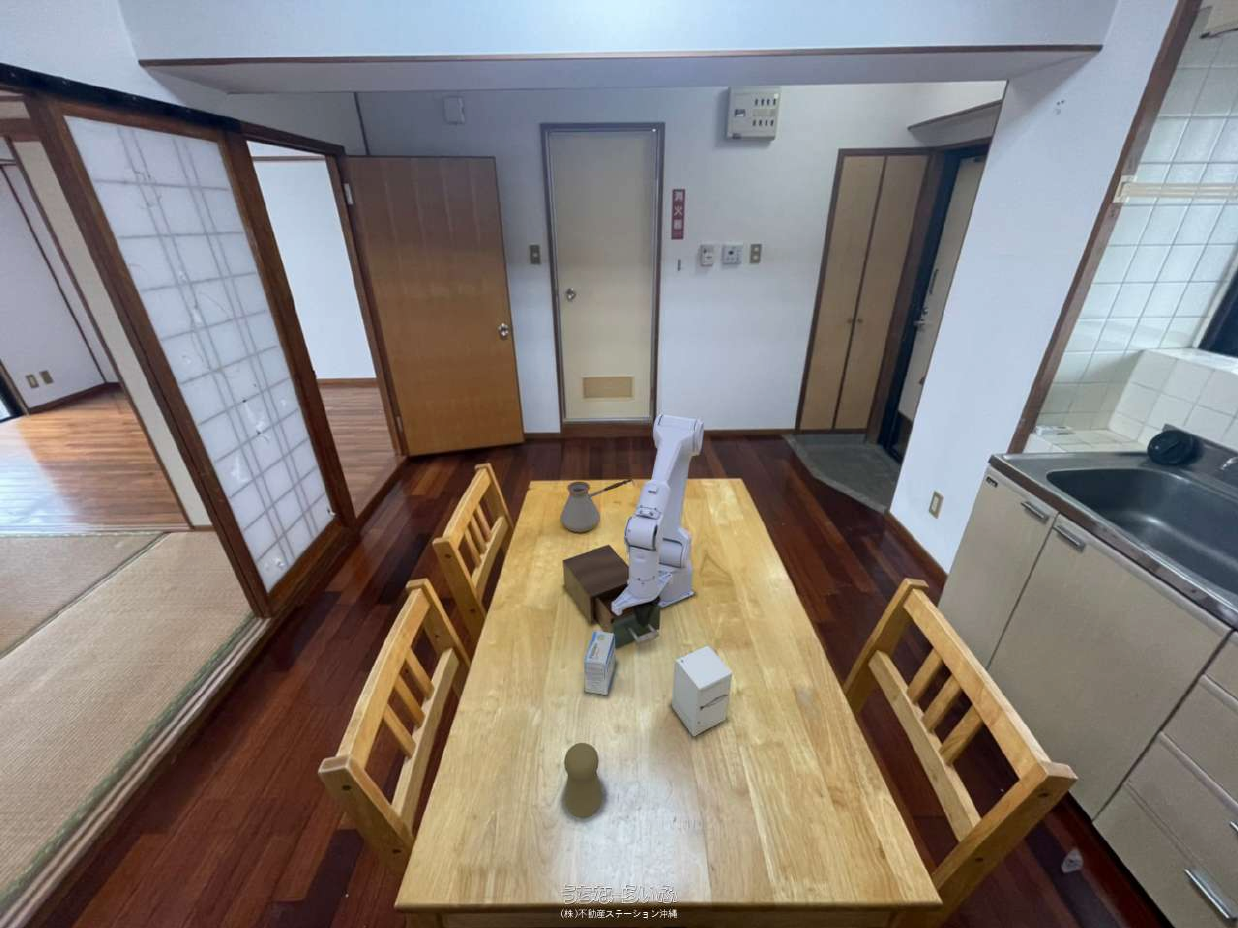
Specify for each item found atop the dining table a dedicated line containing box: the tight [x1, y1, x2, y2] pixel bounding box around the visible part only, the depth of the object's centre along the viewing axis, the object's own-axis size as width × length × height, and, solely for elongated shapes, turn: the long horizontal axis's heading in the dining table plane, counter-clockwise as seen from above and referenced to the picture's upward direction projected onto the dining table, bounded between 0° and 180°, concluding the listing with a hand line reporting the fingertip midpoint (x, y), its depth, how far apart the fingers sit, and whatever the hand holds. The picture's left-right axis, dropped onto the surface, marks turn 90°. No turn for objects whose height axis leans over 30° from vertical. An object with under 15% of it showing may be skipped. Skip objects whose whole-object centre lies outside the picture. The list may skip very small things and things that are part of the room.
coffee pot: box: [559, 478, 635, 534], centre depth 147 cm, size 21×12×15 cm, turn 92°
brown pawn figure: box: [563, 742, 604, 819], centre depth 80 cm, size 6×6×11 cm
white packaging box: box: [671, 644, 733, 737], centre depth 92 cm, size 7×7×13 cm
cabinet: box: [562, 544, 629, 625], centre depth 122 cm, size 15×13×8 cm
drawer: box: [593, 585, 661, 650], centre depth 112 cm, size 18×11×6 cm, turn 29°
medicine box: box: [583, 630, 616, 696], centre depth 101 cm, size 8×4×9 cm, turn 168°
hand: (642, 623), depth 106 cm, fingers closed
